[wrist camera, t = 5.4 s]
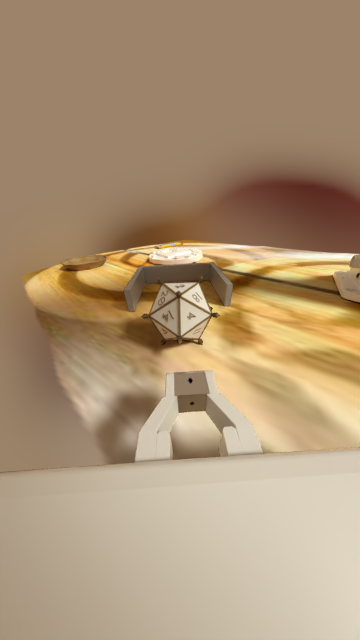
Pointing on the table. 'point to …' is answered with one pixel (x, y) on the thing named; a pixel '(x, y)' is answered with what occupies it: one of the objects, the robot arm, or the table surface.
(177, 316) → the game die
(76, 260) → the plant saucer
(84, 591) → the robot arm
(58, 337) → the table surface
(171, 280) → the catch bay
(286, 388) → the table surface
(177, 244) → the candy bar
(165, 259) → the embossed medallion
